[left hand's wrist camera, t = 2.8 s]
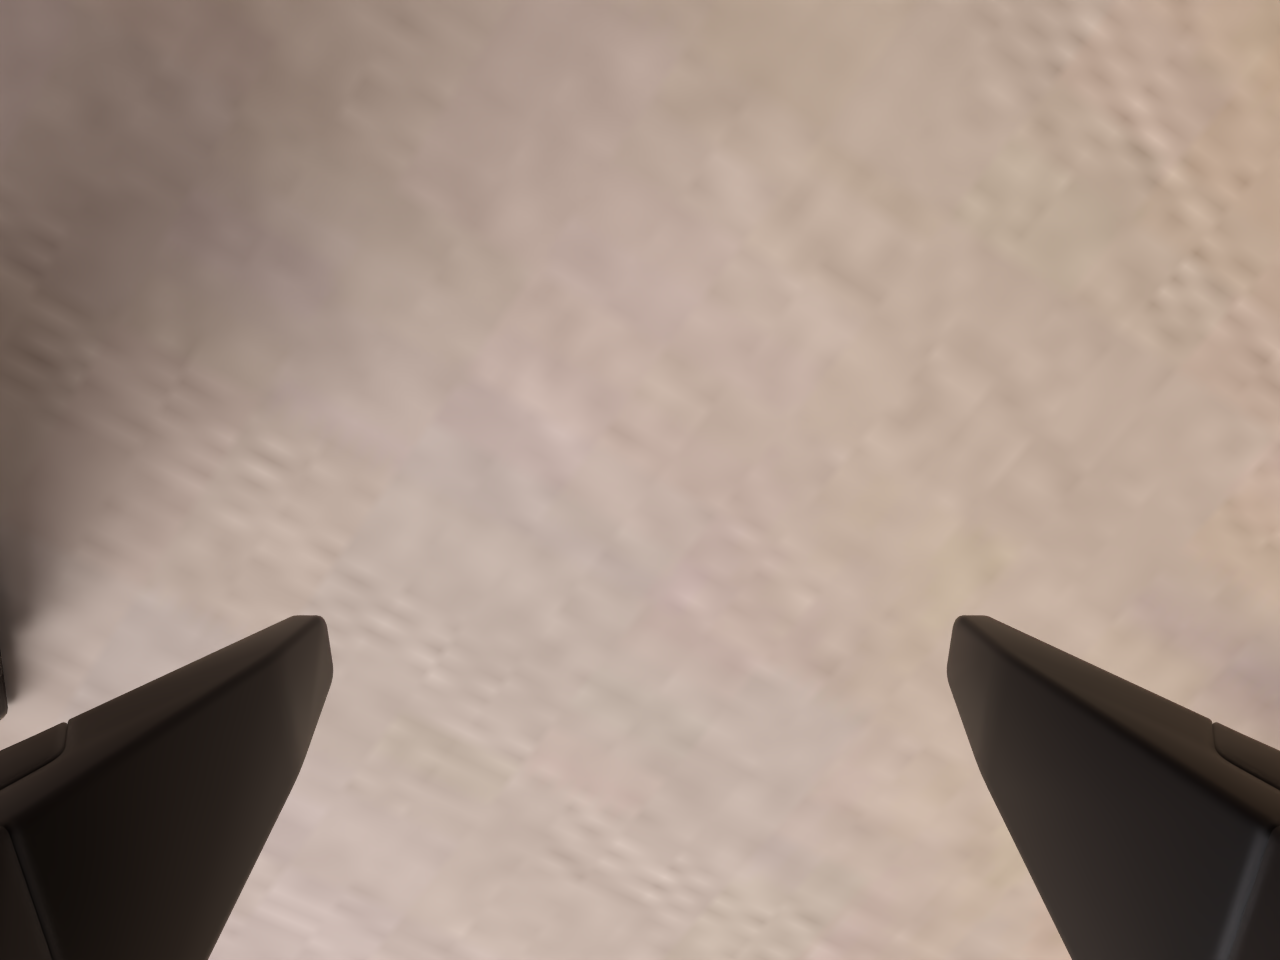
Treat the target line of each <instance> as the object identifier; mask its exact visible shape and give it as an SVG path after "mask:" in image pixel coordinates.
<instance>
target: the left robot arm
mask: <svg viewBox="0 0 1280 960" xmlns="http://www.w3.org/2000/svg"><path fill="white" fill-rule="evenodd" d="M332 677H333V663H332V656H331V650H330V643H329V637H328V630H327V625H326V622H325V620H324V619H323V618H322V617H321V616H317V615H297V616H292V617H289V618H287V619H285V620H283V621H281V622H279V623H276V624H274V625H272V626H270V627H268V628H266V629H263V630H261V631H259V632H257V633H255V634H253V635H250V636H248V637H246V638H244V639H242V640H240V641H238V642H235V643H233V644H231V645H229V646H227V647H225V648H222V649H220V650H218V651H216V652H214V653H212V654H209V655H207V656H205V657H203V658H201V659H199V660H197V661H194V662H192V663H190V664H188V665H186V666H184V667H181V668H179V669H177V670H175V671H173V672H171V673H168V674H166V675H164V676H162V677H160V678H158V679H156V680H153V681H151V682H149V683H147V684H145V685H143V686H140V687H138V688H136V689H134V690H132V691H130V692H128V693H125V694H123V695H121V696H119V697H117V698H115V699H112V700H110V701H108V702H106V703H104V704H102V705H99V706H97V707H95V708H93V709H91V710H89V711H87V712H84V713H82V714H80V715H78V716H76V717H74V718H71V719H70V720H69V721H68V724H67V723H65V722H63V723H60V724H58V725H56V726H54V727H52V728H50V729H47V730H45V731H43V732H41V733H39V734H37V735H34V736H32V737H30V738H28V739H26V740H23V741H21V742H19V743H17V744H14V745H12V746H10V747H8V748H5V749H3V750H1V751H0V960H208V958H209V956H210V954H211V952H212V950H213V948H214V946H215V944H216V942H217V940H218V938H219V936H220V934H221V932H222V930H223V928H224V926H225V924H226V922H227V920H228V918H229V916H230V914H231V912H232V910H233V908H234V905H235V903H236V901H237V899H238V897H239V895H240V893H241V891H242V889H243V887H244V885H245V883H246V881H247V879H248V877H249V875H250V873H251V871H252V869H253V867H254V865H255V863H256V861H257V859H258V857H259V855H260V853H261V851H262V849H263V846H264V844H265V842H266V840H267V838H268V836H269V834H270V832H271V830H272V828H273V826H274V824H275V822H276V820H277V818H278V816H279V814H280V812H281V810H282V808H283V806H284V804H285V802H286V800H287V798H288V796H289V794H290V792H291V790H292V787H293V785H294V783H295V781H296V779H297V777H298V774H299V772H300V770H301V767H302V764H303V762H304V759H305V756H306V754H307V751H308V748H309V745H310V742H311V739H312V737H313V734H314V731H315V728H316V725H317V722H318V720H319V717H320V714H321V711H322V708H323V705H324V703H325V700H326V697H327V694H328V691H329V688H330V686H331V682H332ZM947 677H948V682H949V686H950V688H951V691H952V694H953V697H954V700H955V703H956V705H957V708H958V711H959V714H960V717H961V720H962V722H963V725H964V728H965V731H966V734H967V737H968V739H969V742H970V745H971V748H972V751H973V754H974V756H975V759H976V762H977V764H978V767H979V770H980V772H981V774H982V777H983V779H984V781H985V783H986V785H987V787H988V790H989V792H990V794H991V796H992V798H993V800H994V802H995V804H996V806H997V808H998V810H999V812H1000V814H1001V816H1002V818H1003V820H1004V822H1005V824H1006V826H1007V828H1008V830H1009V832H1010V834H1011V836H1012V838H1013V840H1014V842H1015V844H1016V846H1017V849H1018V851H1019V853H1020V855H1021V857H1022V859H1023V861H1024V863H1025V865H1026V867H1027V869H1028V871H1029V873H1030V875H1031V877H1032V879H1033V881H1034V883H1035V885H1036V887H1037V889H1038V891H1039V893H1040V895H1041V897H1042V899H1043V901H1044V903H1045V905H1046V908H1047V910H1048V912H1049V914H1050V916H1051V918H1052V920H1053V922H1054V924H1055V926H1056V928H1057V930H1058V932H1059V934H1060V936H1061V938H1062V940H1063V942H1064V944H1065V946H1066V948H1067V950H1068V952H1069V954H1070V956H1071V958H1072V960H1280V751H1279V750H1277V749H1275V748H1272V747H1270V746H1268V745H1266V744H1263V743H1261V742H1259V741H1257V740H1254V739H1252V738H1250V737H1248V736H1246V735H1243V734H1241V733H1239V732H1237V731H1235V730H1233V729H1230V728H1228V727H1226V726H1224V725H1222V724H1220V723H1217V722H1215V723H1213V724H1212V721H1211V720H1210V719H1209V718H1206V717H1204V716H1202V715H1200V714H1198V713H1196V712H1193V711H1191V710H1189V709H1187V708H1185V707H1183V706H1181V705H1178V704H1176V703H1174V702H1172V701H1170V700H1168V699H1165V698H1163V697H1161V696H1159V695H1157V694H1155V693H1152V692H1150V691H1148V690H1146V689H1144V688H1142V687H1140V686H1137V685H1135V684H1133V683H1131V682H1129V681H1127V680H1124V679H1122V678H1120V677H1118V676H1116V675H1114V674H1112V673H1109V672H1107V671H1105V670H1103V669H1101V668H1099V667H1096V666H1094V665H1092V664H1090V663H1088V662H1086V661H1083V660H1081V659H1079V658H1077V657H1075V656H1073V655H1071V654H1068V653H1066V652H1064V651H1062V650H1060V649H1058V648H1055V647H1053V646H1051V645H1049V644H1047V643H1045V642H1042V641H1040V640H1038V639H1036V638H1034V637H1032V636H1030V635H1027V634H1025V633H1023V632H1021V631H1019V630H1017V629H1014V628H1012V627H1010V626H1008V625H1006V624H1004V623H1001V622H999V621H997V620H995V619H993V618H991V617H988V616H983V615H963V616H959V617H958V618H957V619H956V620H955V622H954V625H953V630H952V637H951V643H950V650H949V656H948V663H947ZM7 709H8V706H7V698H6V691H5V683H4V675H3V668H2V660H1V652H0V720H1V719H2V718H3V717H4V716H5V715H6V714H7Z"/></svg>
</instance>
